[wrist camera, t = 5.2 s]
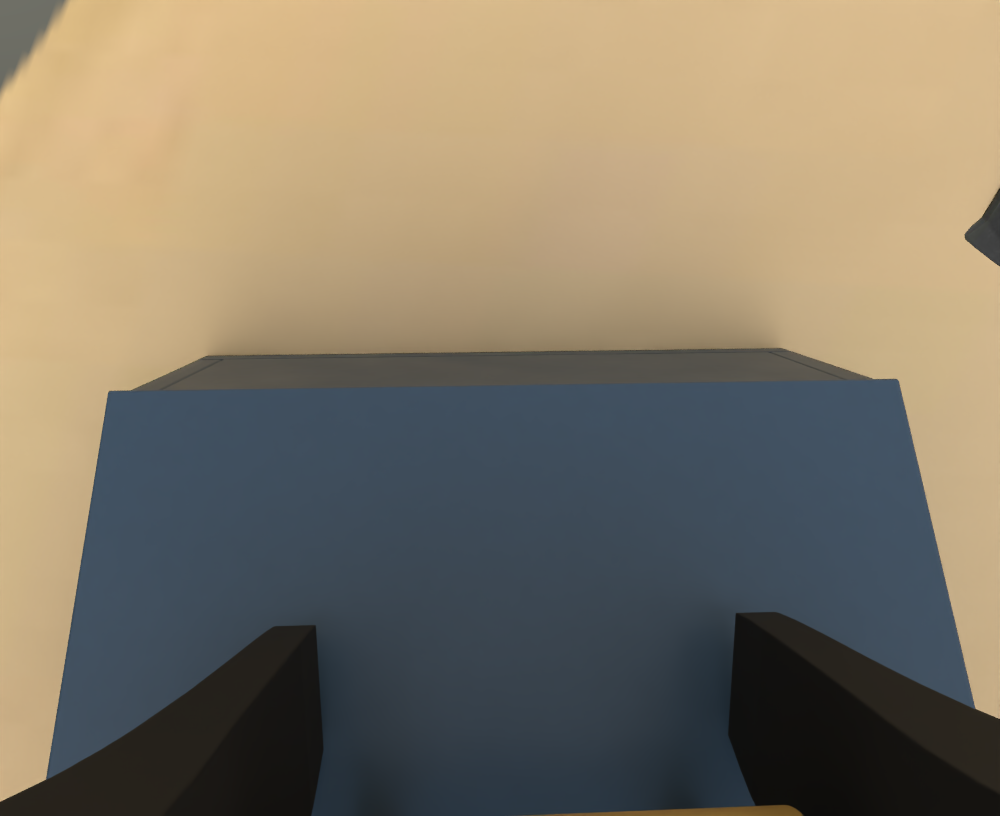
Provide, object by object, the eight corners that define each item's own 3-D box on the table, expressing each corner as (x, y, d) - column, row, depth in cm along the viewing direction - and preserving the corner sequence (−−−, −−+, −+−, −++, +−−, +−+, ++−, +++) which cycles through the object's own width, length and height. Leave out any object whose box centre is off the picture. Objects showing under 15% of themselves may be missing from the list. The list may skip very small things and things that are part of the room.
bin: (750, 807, 22) (824, 951, 18) (246, 827, 21) (189, 983, 17) (783, 348, 19) (881, 380, 15) (205, 355, 19) (122, 392, 14)
